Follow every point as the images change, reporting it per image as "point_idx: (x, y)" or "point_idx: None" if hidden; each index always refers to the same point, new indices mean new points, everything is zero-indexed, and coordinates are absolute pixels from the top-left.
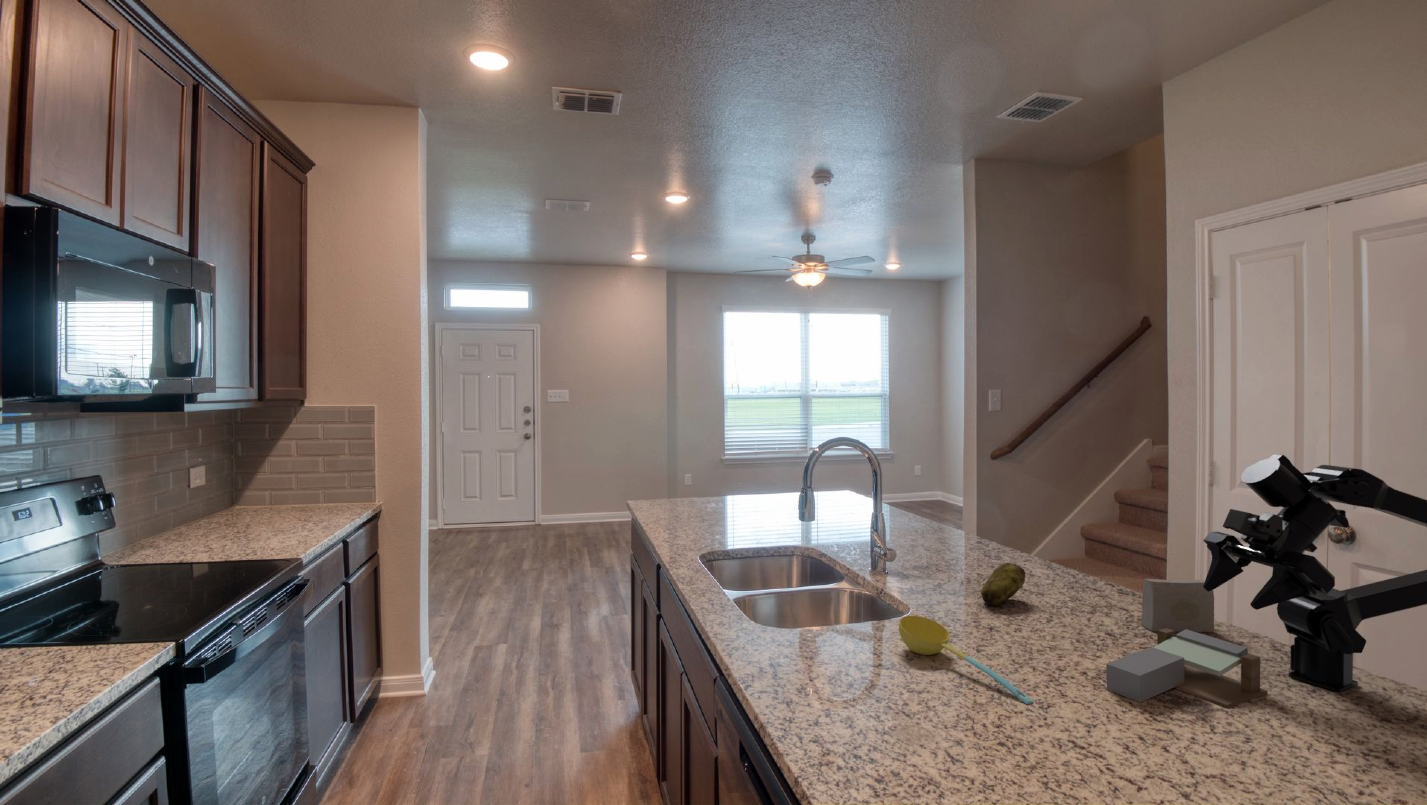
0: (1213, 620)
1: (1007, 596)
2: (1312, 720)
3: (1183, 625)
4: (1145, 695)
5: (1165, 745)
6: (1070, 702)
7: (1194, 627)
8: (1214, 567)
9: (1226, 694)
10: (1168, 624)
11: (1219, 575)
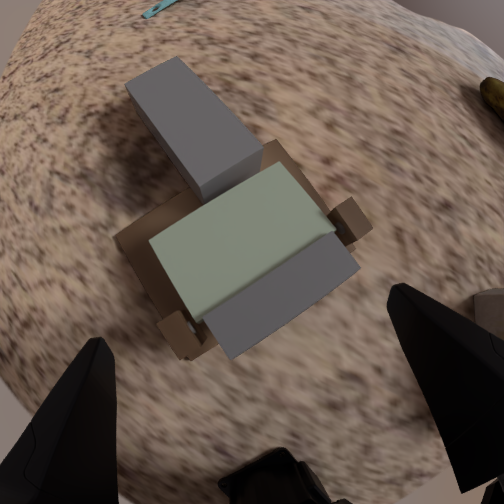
0: None
1: (498, 107)
2: None
3: None
4: (140, 115)
5: (39, 108)
6: (143, 44)
7: None
8: (482, 352)
9: (159, 262)
10: (484, 326)
11: (446, 373)
